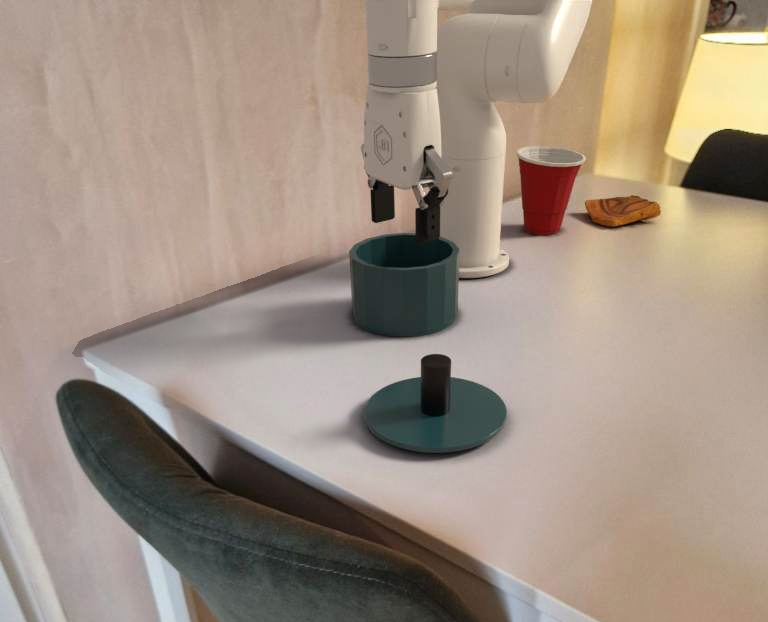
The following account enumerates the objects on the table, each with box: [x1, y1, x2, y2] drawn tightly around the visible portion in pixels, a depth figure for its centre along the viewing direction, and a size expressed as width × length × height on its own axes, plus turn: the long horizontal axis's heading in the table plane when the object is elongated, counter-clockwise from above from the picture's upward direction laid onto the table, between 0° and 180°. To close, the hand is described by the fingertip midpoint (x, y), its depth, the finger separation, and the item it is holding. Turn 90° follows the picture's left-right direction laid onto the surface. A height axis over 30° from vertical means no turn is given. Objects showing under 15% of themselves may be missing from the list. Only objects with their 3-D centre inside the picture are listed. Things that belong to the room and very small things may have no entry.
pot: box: [348, 232, 460, 338], centre depth 98 cm, size 14×14×8 cm
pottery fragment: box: [584, 194, 662, 227], centre depth 129 cm, size 10×5×10 cm
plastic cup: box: [516, 145, 587, 236], centre depth 123 cm, size 11×11×12 cm
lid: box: [364, 353, 508, 454], centre depth 77 cm, size 15×15×7 cm
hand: (404, 230), depth 94 cm, fingers open, 9 cm apart
